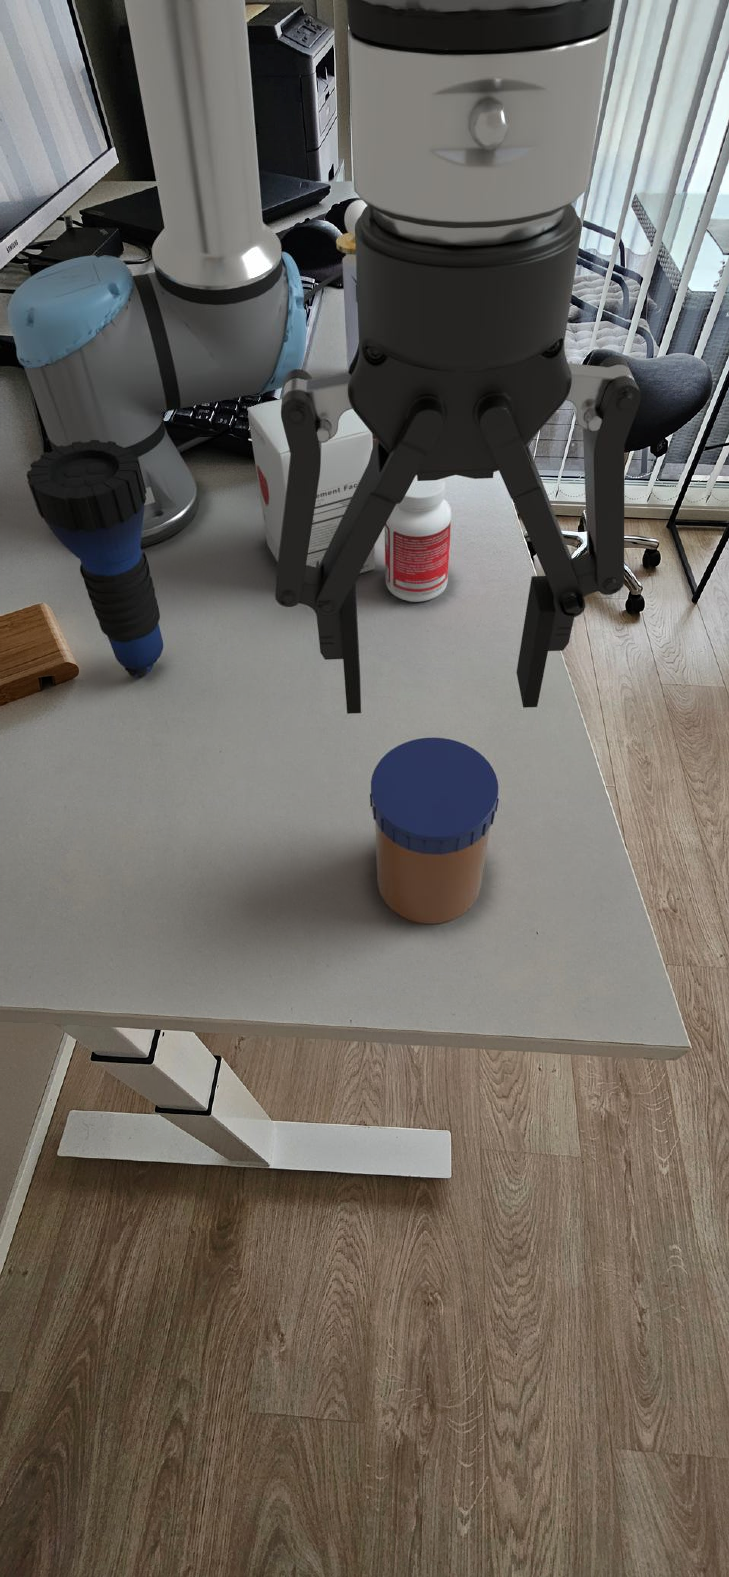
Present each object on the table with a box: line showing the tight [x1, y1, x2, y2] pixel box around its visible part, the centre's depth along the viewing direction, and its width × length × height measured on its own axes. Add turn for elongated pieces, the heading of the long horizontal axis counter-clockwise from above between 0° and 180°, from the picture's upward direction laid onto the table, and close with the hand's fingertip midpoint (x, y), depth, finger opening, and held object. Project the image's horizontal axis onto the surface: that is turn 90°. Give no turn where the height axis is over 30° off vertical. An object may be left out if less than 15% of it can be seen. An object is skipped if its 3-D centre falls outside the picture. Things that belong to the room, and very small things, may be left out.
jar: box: [374, 820, 491, 925], centre depth 55 cm, size 8×8×11 cm
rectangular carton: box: [246, 398, 376, 575], centre depth 78 cm, size 9×9×15 cm
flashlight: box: [26, 440, 164, 679], centre depth 66 cm, size 8×8×20 cm
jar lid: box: [369, 737, 500, 855], centre depth 52 cm, size 8×8×2 cm
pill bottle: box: [384, 475, 452, 603], centre depth 76 cm, size 6×6×11 cm
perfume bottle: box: [335, 199, 367, 372], centre depth 99 cm, size 6×6×20 cm
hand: (440, 692), depth 44 cm, fingers open, 9 cm apart
